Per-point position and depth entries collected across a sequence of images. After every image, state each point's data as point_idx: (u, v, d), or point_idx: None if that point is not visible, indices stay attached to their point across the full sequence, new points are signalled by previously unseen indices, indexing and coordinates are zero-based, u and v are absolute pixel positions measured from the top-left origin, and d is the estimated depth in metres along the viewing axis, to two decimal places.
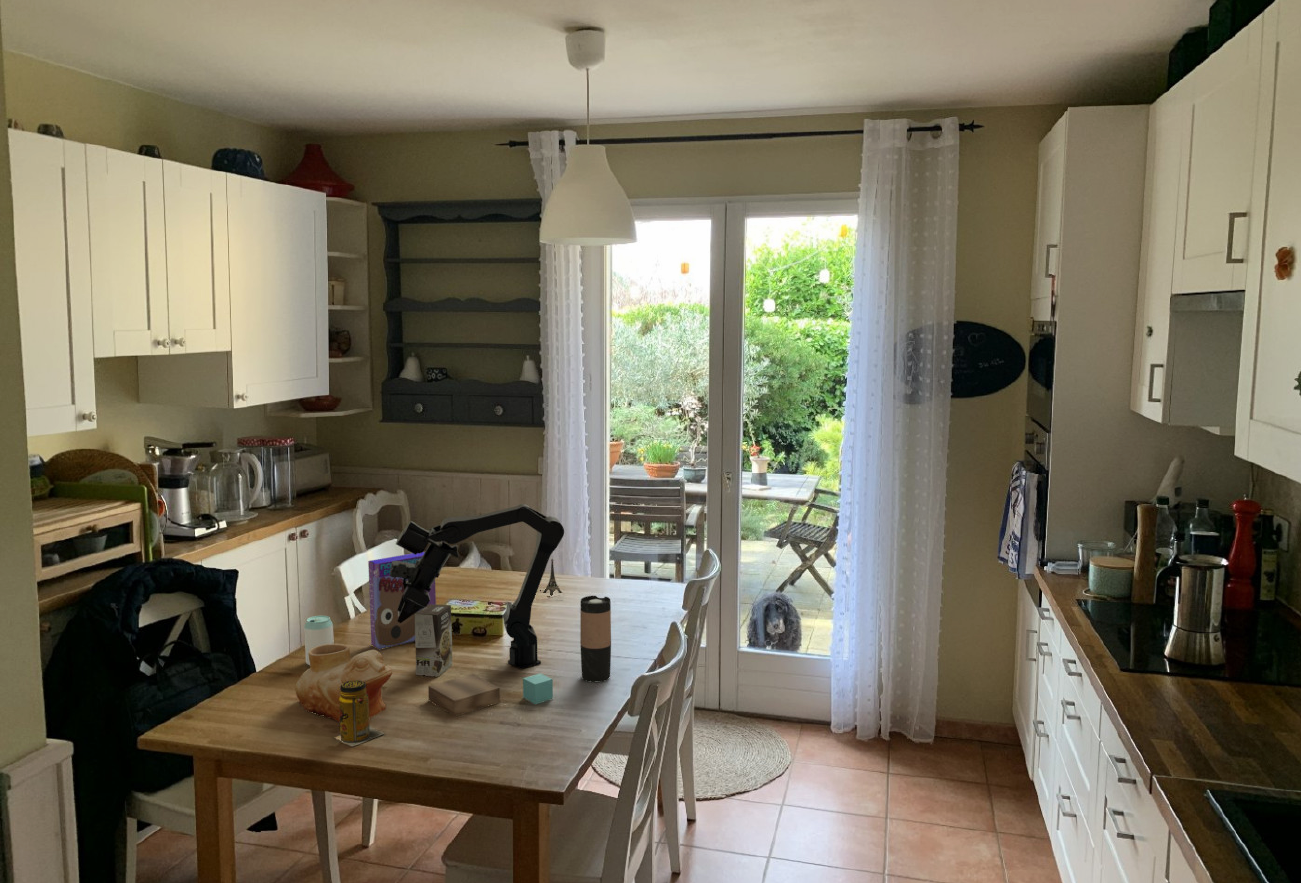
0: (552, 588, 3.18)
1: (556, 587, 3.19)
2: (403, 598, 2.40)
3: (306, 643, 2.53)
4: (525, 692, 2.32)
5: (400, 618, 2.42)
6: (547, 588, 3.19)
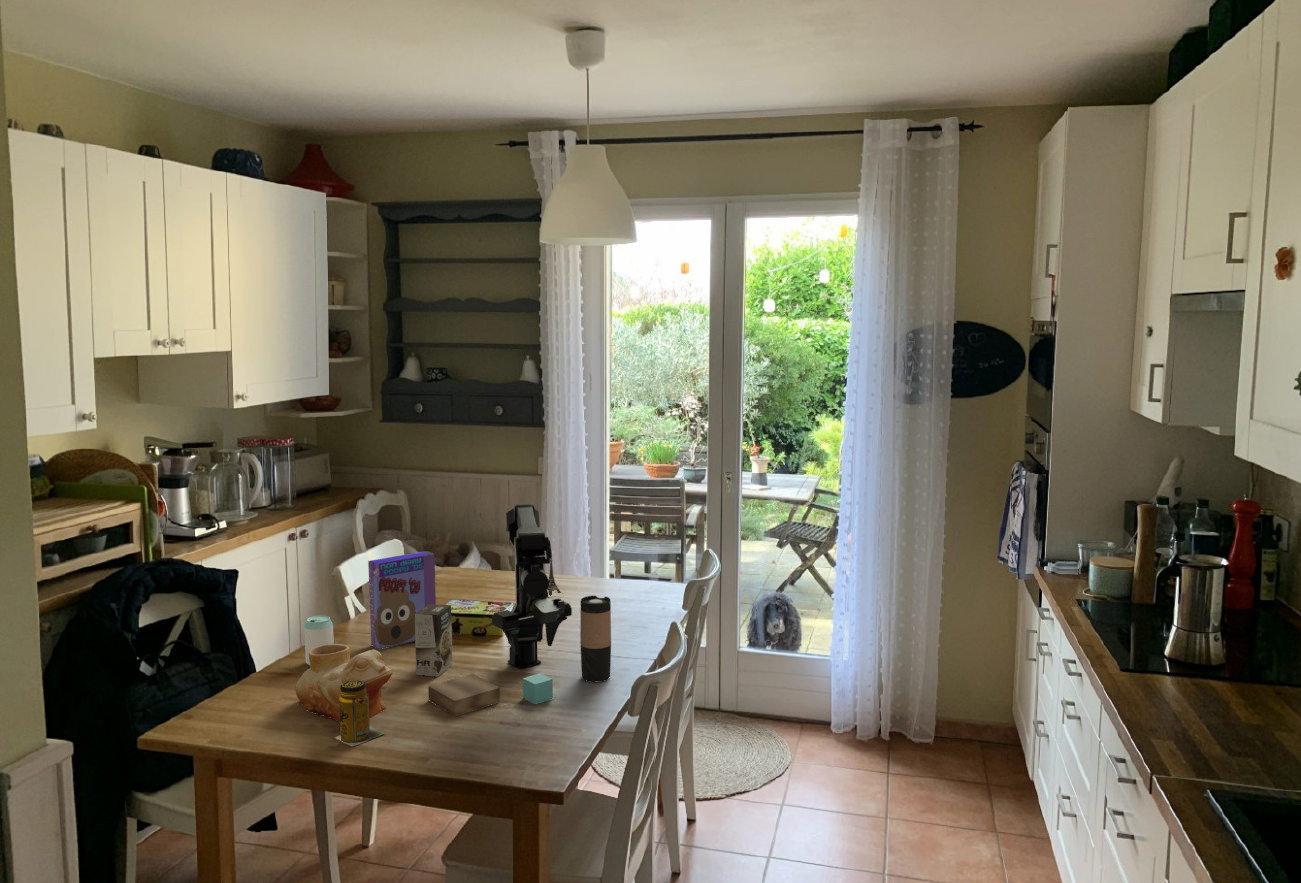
0: (551, 588, 3.18)
1: (555, 587, 3.19)
2: (563, 620, 2.32)
3: (306, 643, 2.53)
4: (525, 692, 2.32)
5: None
6: None
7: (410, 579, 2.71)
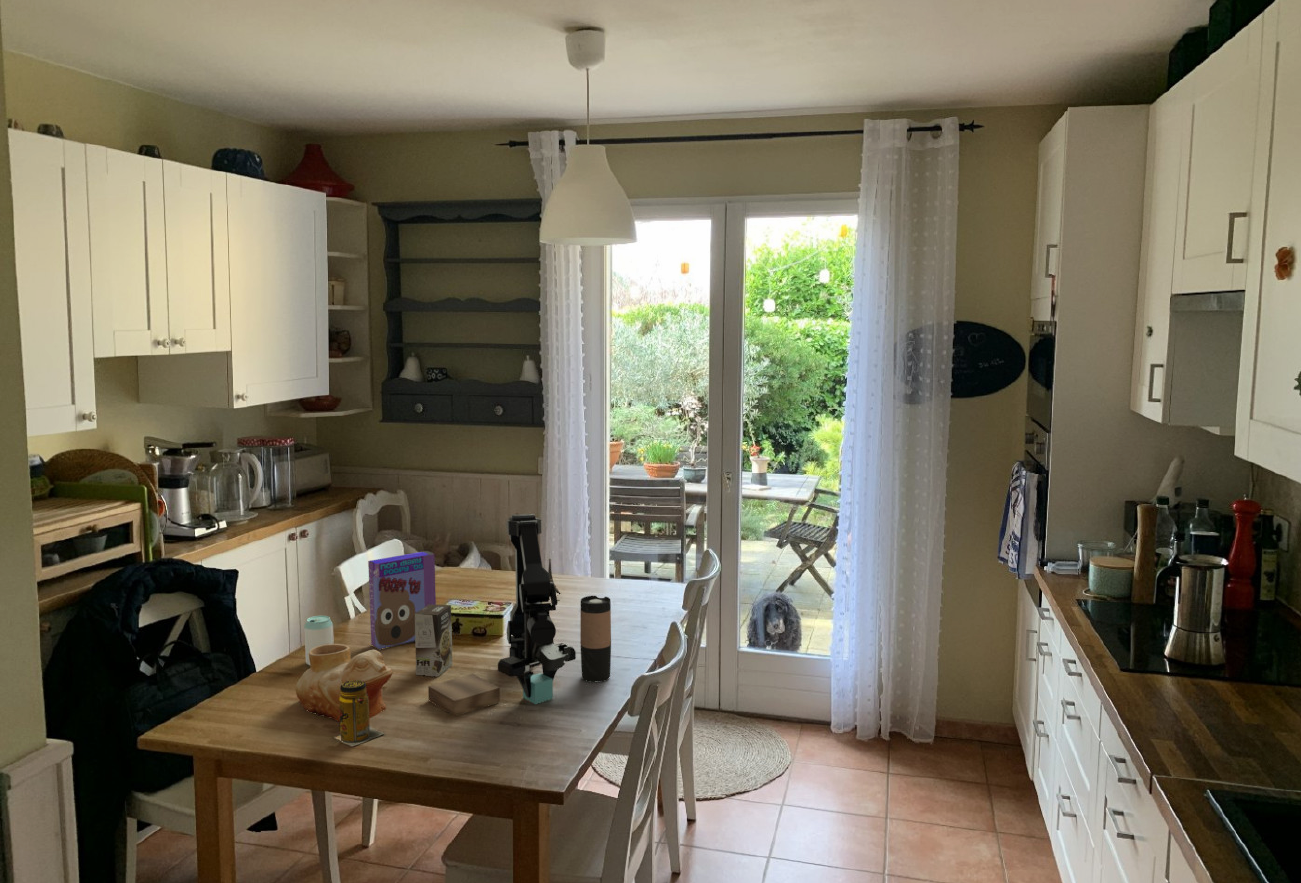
0: None
1: None
2: None
3: (306, 643, 2.53)
4: None
5: None
6: None
7: (410, 579, 2.71)
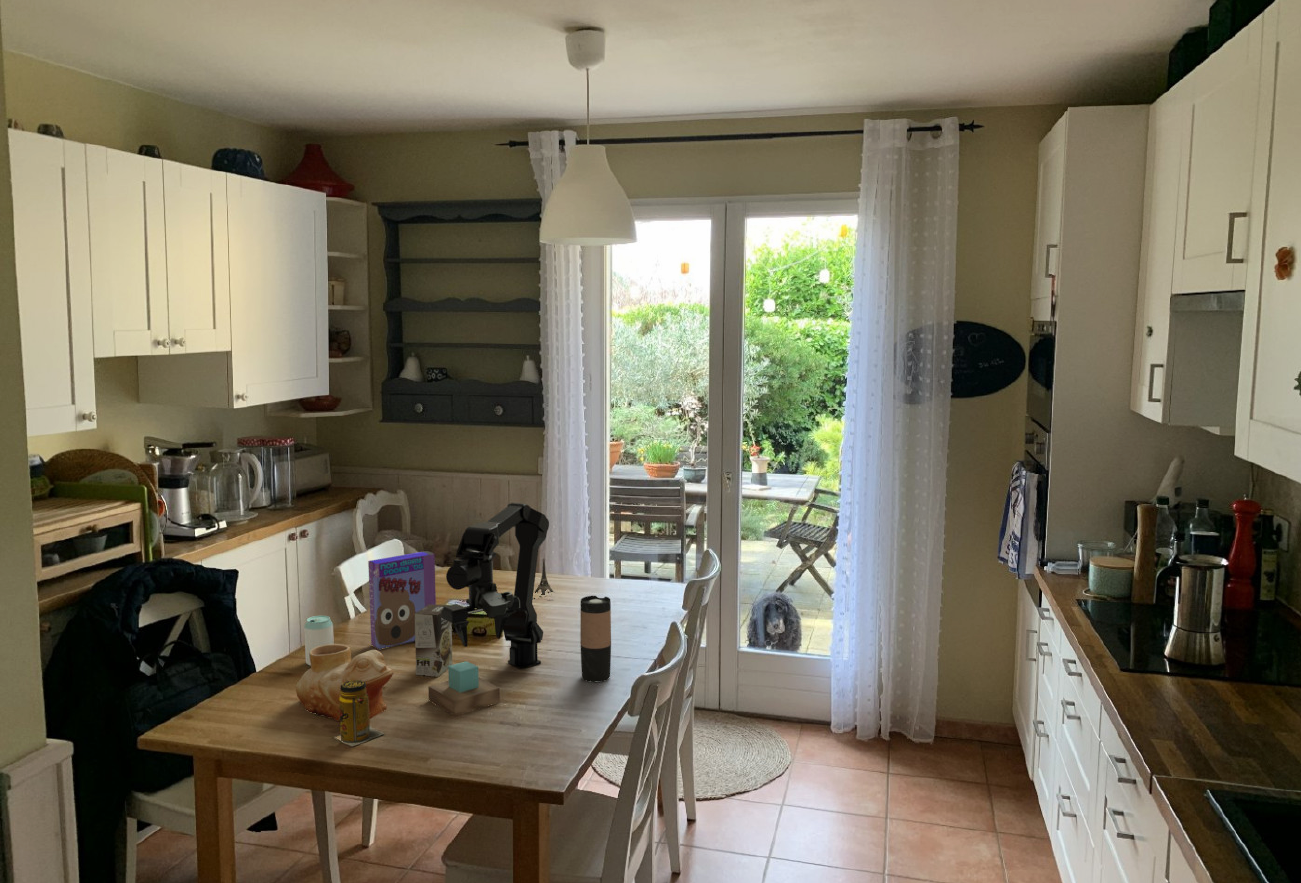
0: (544, 587, 3.18)
1: (548, 586, 3.19)
2: (511, 613, 2.38)
3: (306, 643, 2.53)
4: (450, 680, 2.29)
5: None
6: (539, 587, 3.20)
7: (410, 579, 2.71)
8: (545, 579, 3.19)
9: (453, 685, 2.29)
